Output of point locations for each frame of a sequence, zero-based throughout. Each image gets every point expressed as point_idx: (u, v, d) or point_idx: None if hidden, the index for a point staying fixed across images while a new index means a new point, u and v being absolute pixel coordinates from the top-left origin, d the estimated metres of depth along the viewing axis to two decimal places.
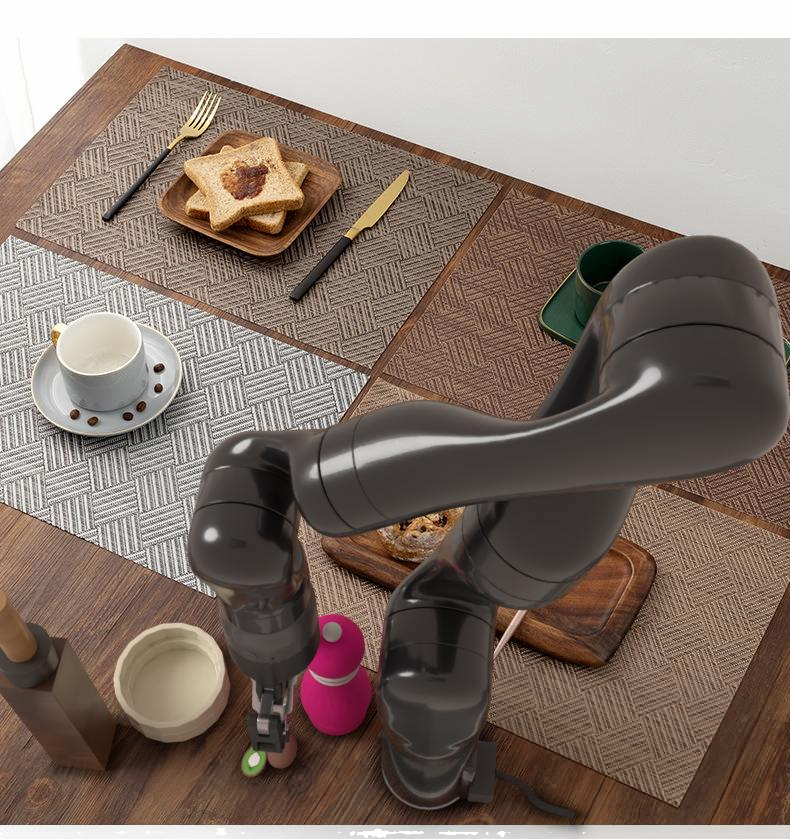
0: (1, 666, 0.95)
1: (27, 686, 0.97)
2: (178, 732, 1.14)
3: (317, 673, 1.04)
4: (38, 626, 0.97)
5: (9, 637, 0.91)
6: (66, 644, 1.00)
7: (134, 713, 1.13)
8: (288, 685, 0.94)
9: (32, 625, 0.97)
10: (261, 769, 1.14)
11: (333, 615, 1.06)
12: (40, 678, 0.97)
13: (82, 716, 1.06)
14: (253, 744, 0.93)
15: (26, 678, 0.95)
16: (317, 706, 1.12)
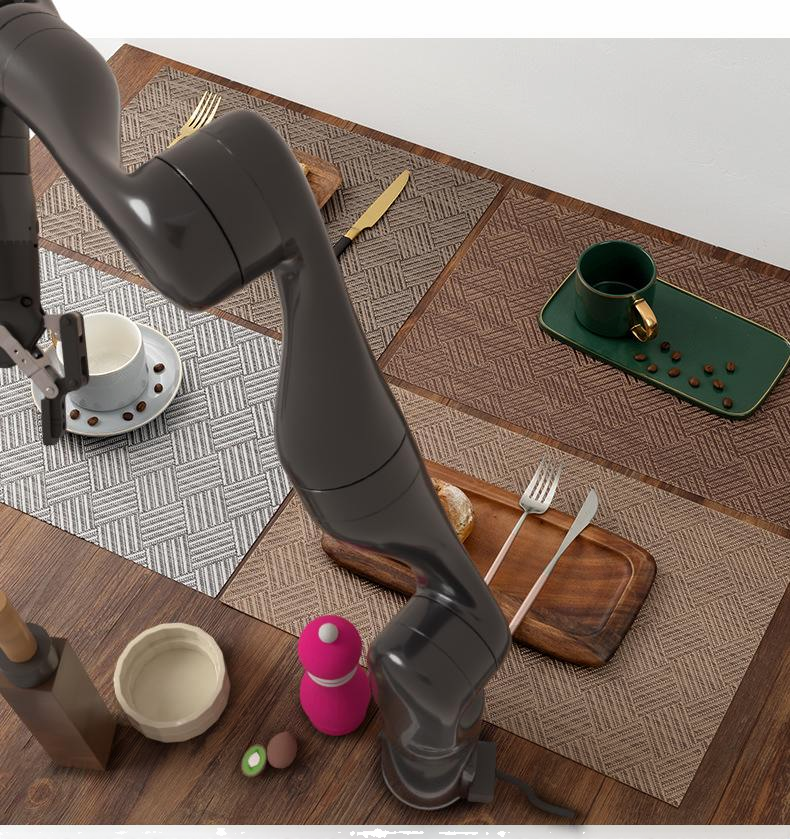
0: (1, 666, 0.95)
1: (27, 686, 0.97)
2: (178, 732, 1.14)
3: (314, 674, 1.04)
4: (38, 626, 0.97)
5: (9, 637, 0.91)
6: (66, 644, 1.00)
7: (134, 713, 1.13)
8: None
9: (32, 625, 0.97)
10: (261, 769, 1.14)
11: (330, 616, 1.06)
12: (40, 678, 0.97)
13: (82, 716, 1.06)
14: None
15: (26, 678, 0.95)
16: (316, 707, 1.12)
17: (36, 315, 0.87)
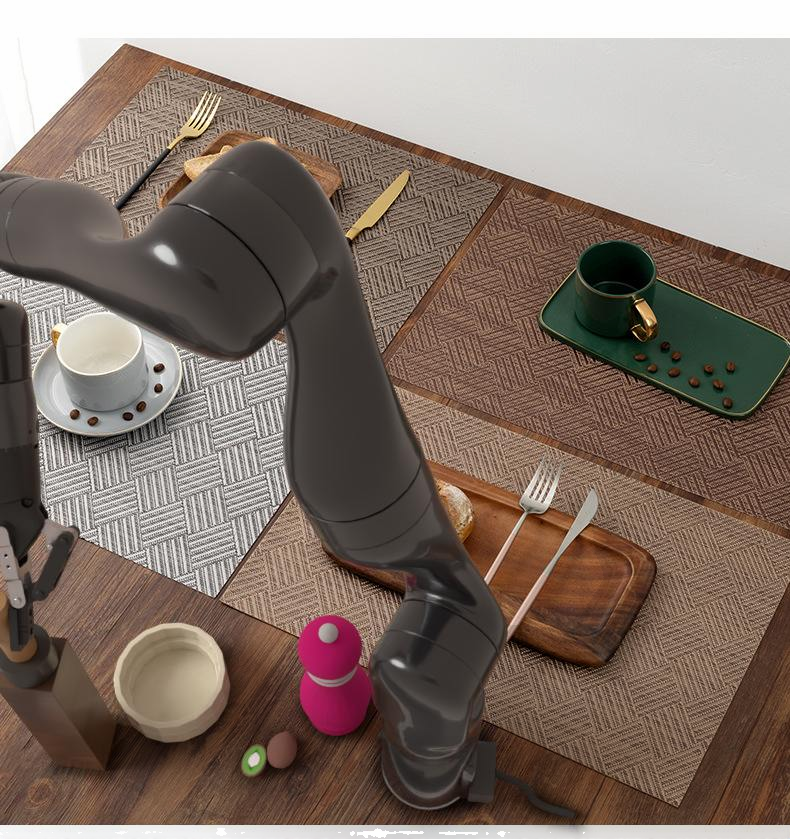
0: (1, 666, 0.95)
1: (27, 686, 0.97)
2: (178, 732, 1.14)
3: (314, 674, 1.04)
4: (38, 626, 0.97)
5: (9, 637, 0.91)
6: (66, 644, 1.00)
7: (134, 713, 1.13)
8: None
9: None
10: (261, 769, 1.14)
11: (330, 616, 1.06)
12: (40, 678, 0.96)
13: (82, 716, 1.06)
14: None
15: (26, 678, 0.95)
16: (316, 707, 1.12)
17: (39, 520, 0.88)
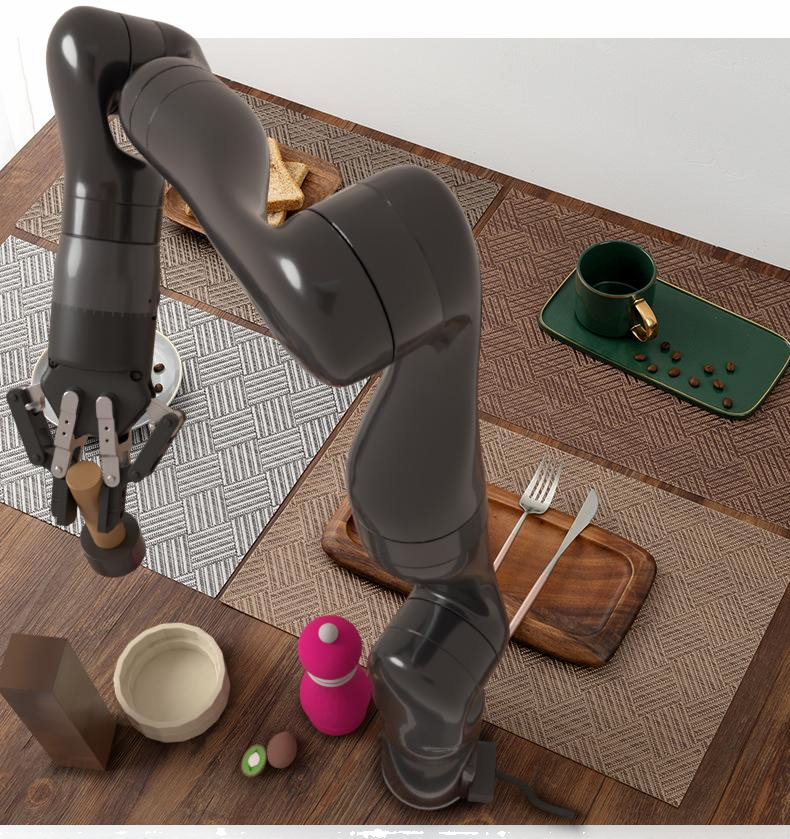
0: (86, 549, 0.91)
1: (109, 575, 0.92)
2: (178, 732, 1.14)
3: (314, 674, 1.04)
4: (129, 515, 0.92)
5: None
6: (66, 644, 1.00)
7: (134, 713, 1.13)
8: None
9: None
10: (261, 769, 1.14)
11: (330, 616, 1.06)
12: (124, 569, 0.92)
13: (82, 716, 1.06)
14: None
15: (110, 565, 0.91)
16: (316, 707, 1.12)
17: (146, 397, 0.82)
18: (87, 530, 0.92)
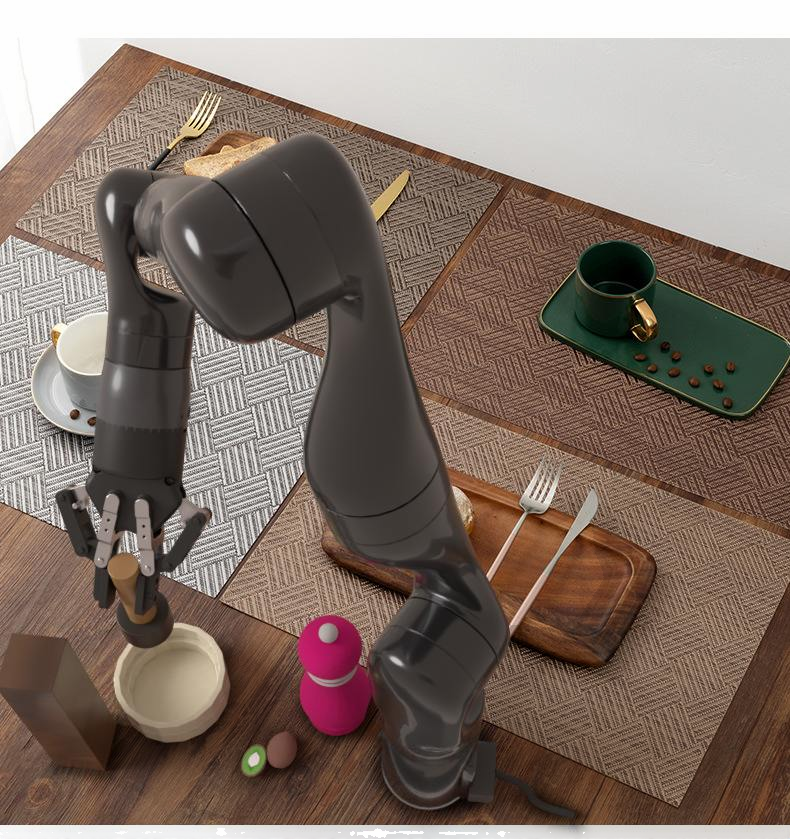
0: (122, 625, 1.03)
1: (142, 646, 1.04)
2: (178, 732, 1.14)
3: (314, 674, 1.04)
4: (159, 593, 1.04)
5: (134, 600, 0.99)
6: (66, 644, 1.00)
7: (134, 713, 1.13)
8: None
9: None
10: (261, 769, 1.14)
11: (330, 616, 1.06)
12: (155, 641, 1.04)
13: (82, 716, 1.06)
14: None
15: (143, 639, 1.03)
16: (316, 707, 1.12)
17: (178, 499, 0.95)
18: (122, 607, 1.04)
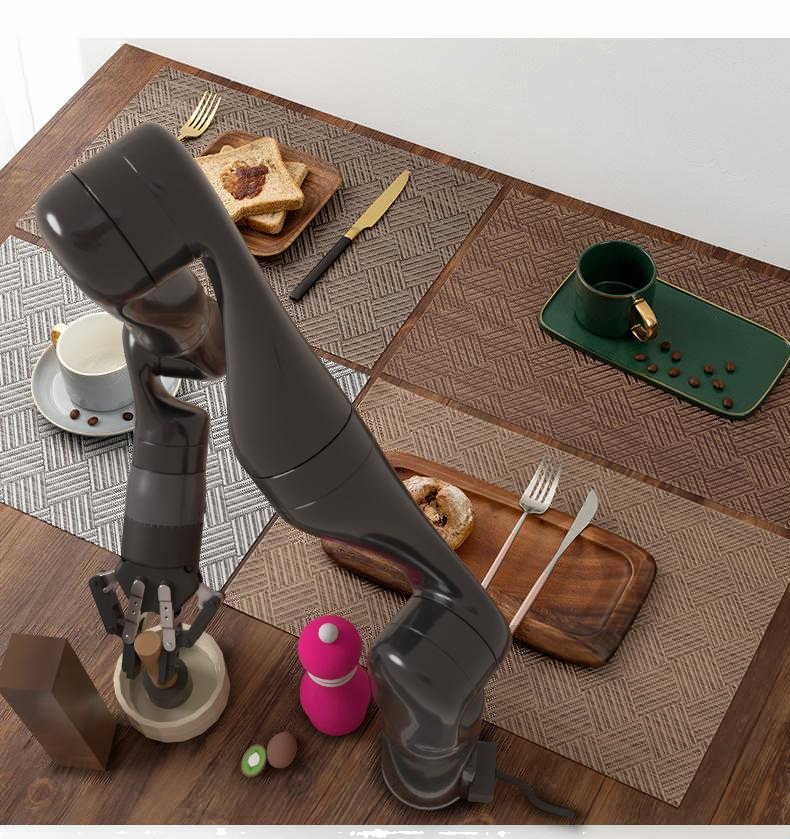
0: (147, 689, 1.16)
1: (165, 707, 1.18)
2: (178, 732, 1.14)
3: (314, 674, 1.04)
4: (180, 660, 1.18)
5: (157, 671, 1.12)
6: (66, 644, 1.00)
7: (134, 713, 1.13)
8: None
9: None
10: (261, 769, 1.14)
11: (330, 616, 1.06)
12: (176, 703, 1.17)
13: (82, 716, 1.06)
14: None
15: (165, 702, 1.16)
16: (316, 707, 1.12)
17: (196, 584, 1.08)
18: (147, 673, 1.17)
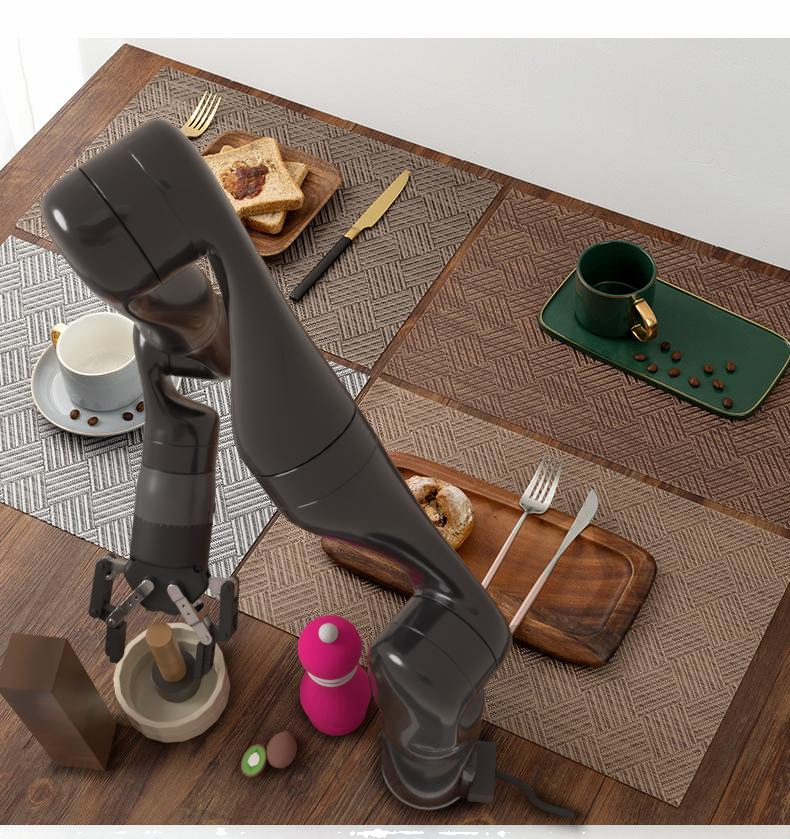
0: (156, 682, 1.17)
1: (173, 701, 1.18)
2: (178, 732, 1.14)
3: (314, 674, 1.04)
4: (189, 654, 1.19)
5: (168, 663, 1.13)
6: (66, 644, 1.00)
7: (134, 713, 1.13)
8: (137, 588, 1.09)
9: (184, 652, 1.19)
10: (261, 769, 1.14)
11: (330, 616, 1.06)
12: (184, 696, 1.18)
13: (82, 716, 1.06)
14: None
15: (174, 695, 1.17)
16: (316, 707, 1.12)
17: (203, 579, 1.08)
18: (156, 666, 1.18)
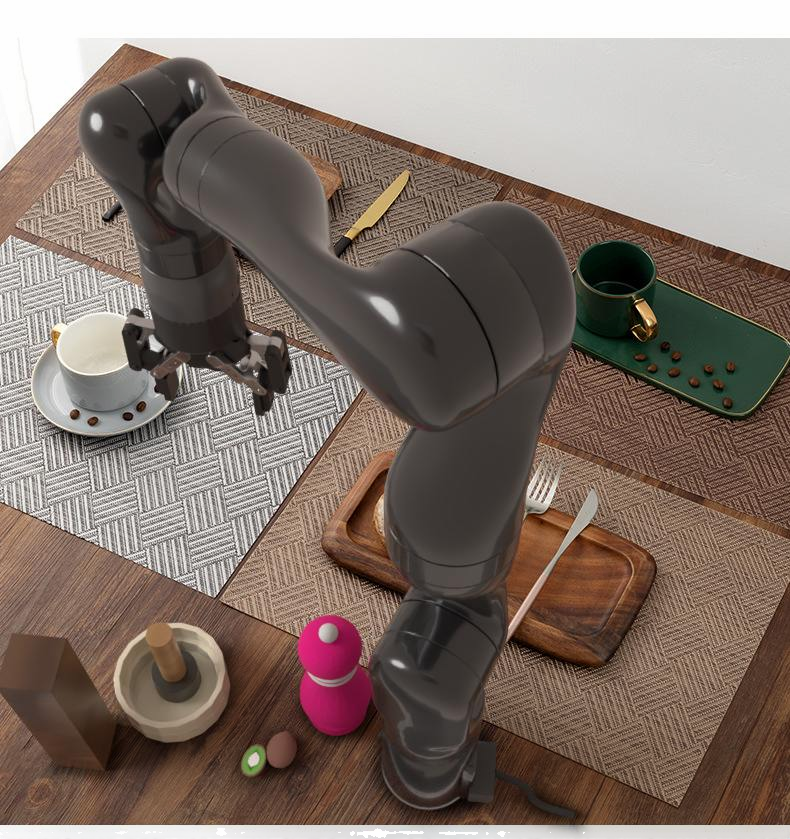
0: (156, 682, 1.17)
1: (173, 701, 1.18)
2: (178, 732, 1.14)
3: (314, 674, 1.04)
4: (189, 654, 1.19)
5: (168, 663, 1.13)
6: (66, 644, 1.00)
7: (134, 713, 1.13)
8: (173, 352, 0.97)
9: (184, 652, 1.19)
10: (261, 769, 1.14)
11: (330, 616, 1.06)
12: (184, 696, 1.18)
13: (82, 716, 1.06)
14: None
15: (174, 695, 1.17)
16: (316, 707, 1.12)
17: (243, 346, 0.95)
18: (156, 666, 1.18)
